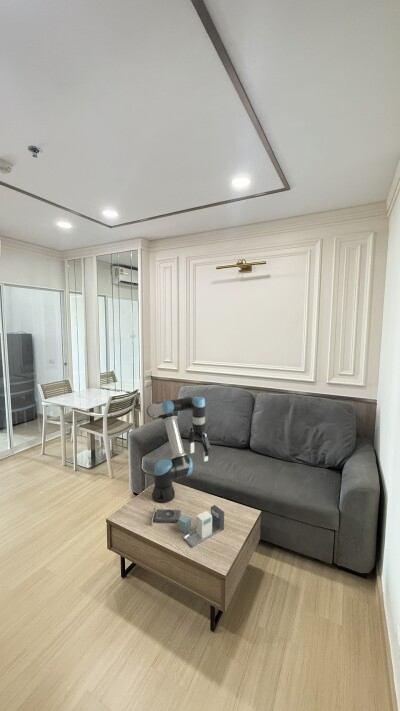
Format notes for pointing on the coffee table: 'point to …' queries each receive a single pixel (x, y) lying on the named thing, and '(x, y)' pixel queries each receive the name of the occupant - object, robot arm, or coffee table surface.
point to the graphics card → (166, 515)
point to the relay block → (184, 523)
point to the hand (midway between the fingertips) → (198, 456)
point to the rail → (217, 526)
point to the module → (204, 524)
